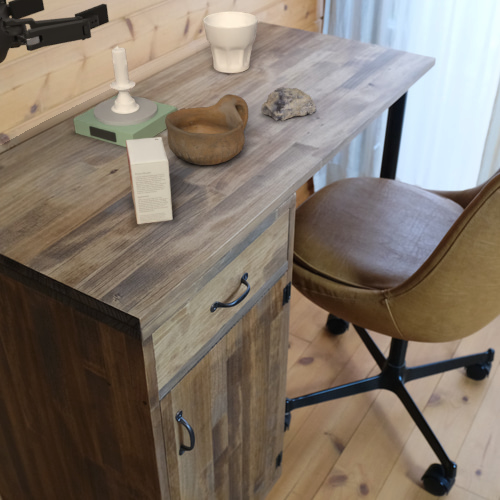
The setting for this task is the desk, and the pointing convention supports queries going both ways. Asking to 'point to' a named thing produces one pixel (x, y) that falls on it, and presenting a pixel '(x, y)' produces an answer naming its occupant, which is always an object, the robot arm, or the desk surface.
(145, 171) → the small box
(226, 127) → the bowl
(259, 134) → the desk surface
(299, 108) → the mineral specimen
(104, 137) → the scale
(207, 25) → the cup
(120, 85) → the candle
